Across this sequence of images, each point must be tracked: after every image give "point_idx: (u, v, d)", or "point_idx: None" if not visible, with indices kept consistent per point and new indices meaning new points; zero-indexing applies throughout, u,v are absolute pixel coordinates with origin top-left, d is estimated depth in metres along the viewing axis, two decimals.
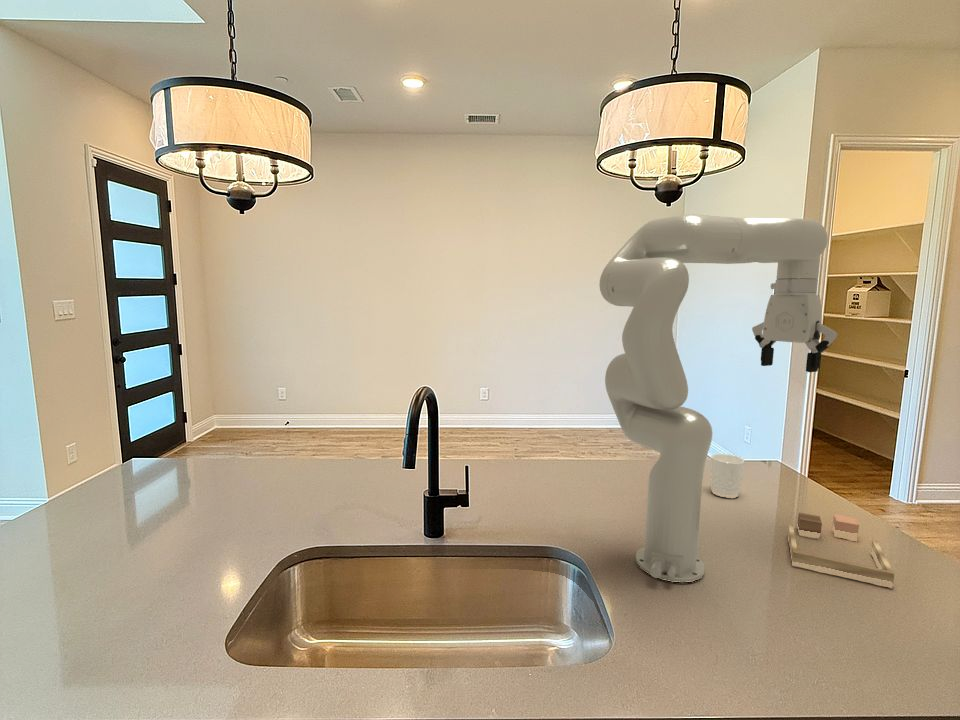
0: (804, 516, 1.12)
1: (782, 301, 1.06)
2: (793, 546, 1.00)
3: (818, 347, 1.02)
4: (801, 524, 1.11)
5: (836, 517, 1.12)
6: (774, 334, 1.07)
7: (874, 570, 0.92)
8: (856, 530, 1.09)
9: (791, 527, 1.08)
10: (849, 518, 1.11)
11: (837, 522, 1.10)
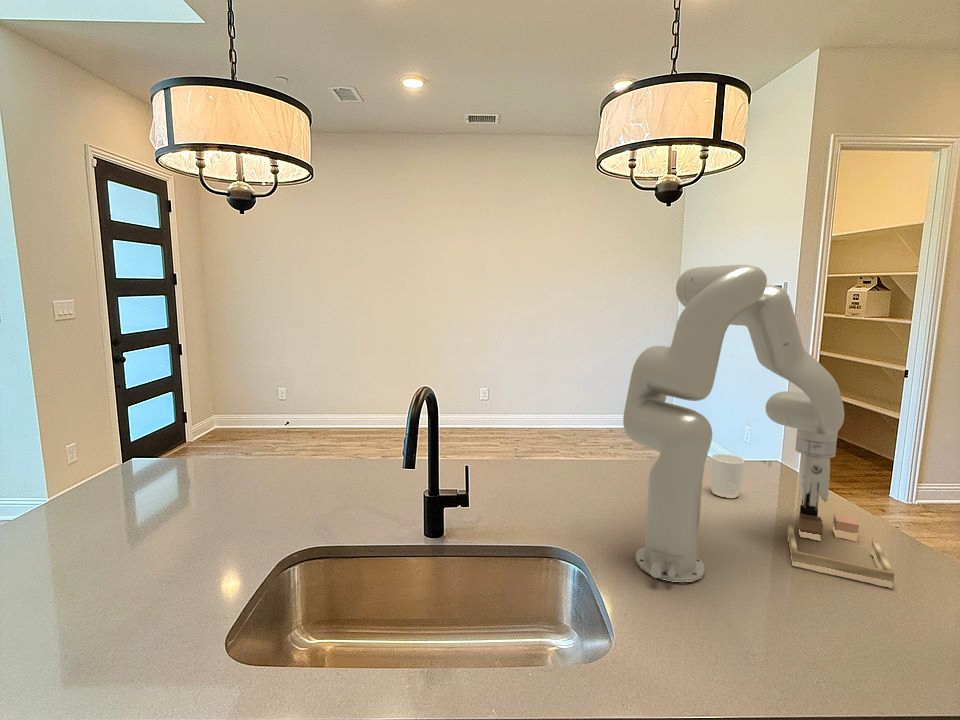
0: (805, 517, 1.11)
1: None
2: (793, 546, 1.00)
3: None
4: (802, 525, 1.10)
5: (836, 517, 1.12)
6: None
7: (874, 570, 0.92)
8: (856, 530, 1.09)
9: (791, 527, 1.08)
10: (849, 518, 1.11)
11: (837, 522, 1.10)
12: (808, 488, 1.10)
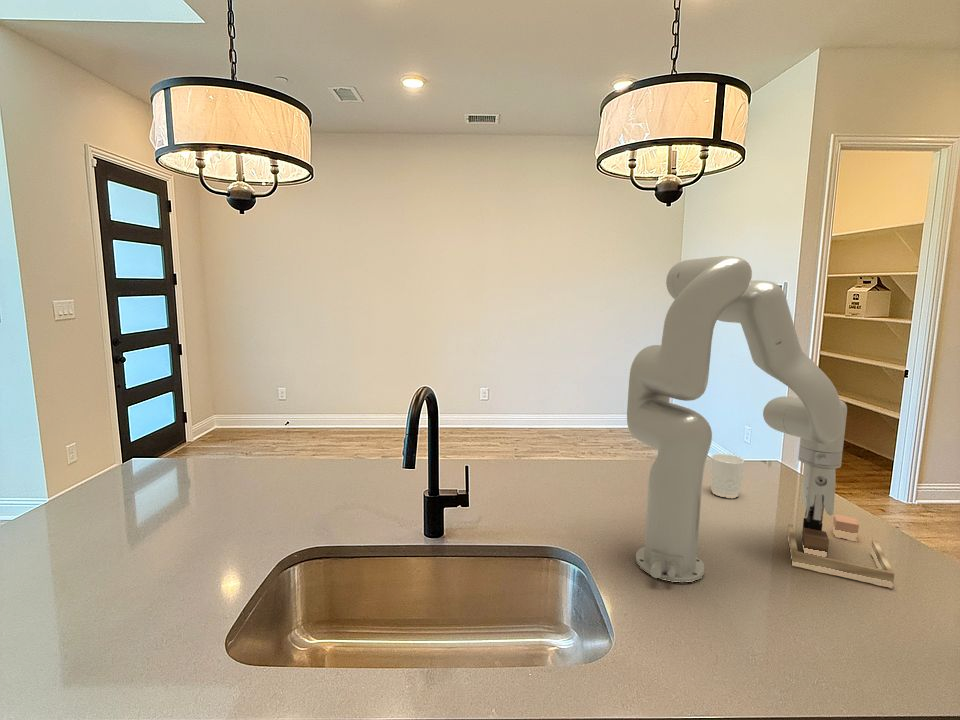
0: (810, 532, 1.04)
1: None
2: (793, 546, 1.00)
3: None
4: (806, 541, 1.03)
5: (836, 517, 1.12)
6: None
7: (874, 570, 0.92)
8: (856, 530, 1.09)
9: (791, 527, 1.08)
10: (849, 518, 1.11)
11: (837, 522, 1.10)
12: (812, 501, 1.03)
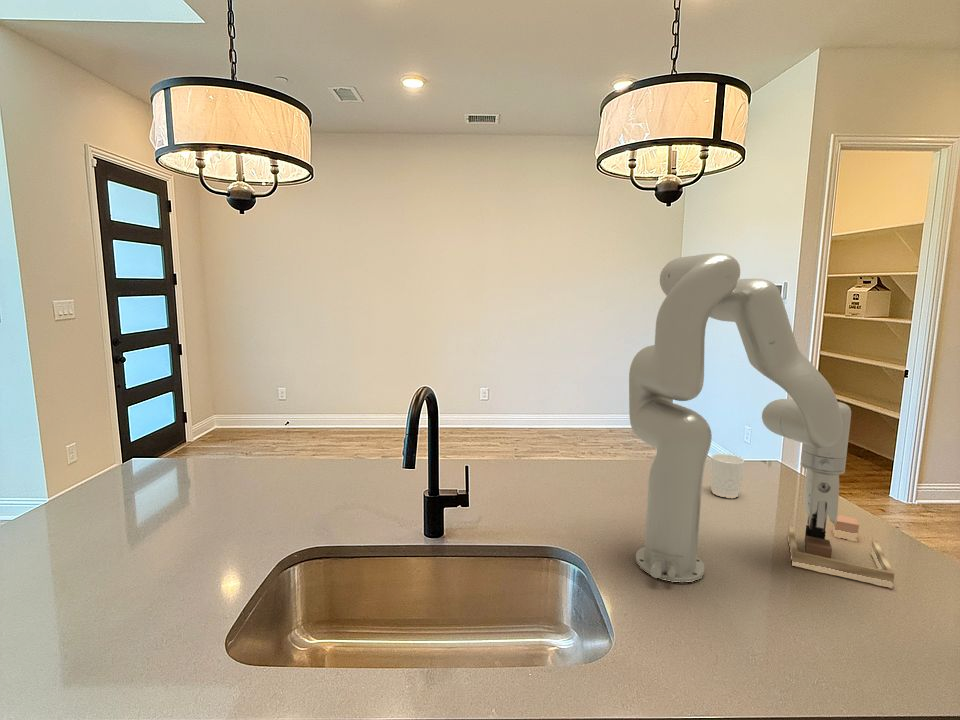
0: (812, 540, 1.01)
1: None
2: (793, 546, 1.00)
3: None
4: (809, 550, 0.99)
5: None
6: None
7: (874, 570, 0.92)
8: (856, 530, 1.09)
9: (791, 527, 1.08)
10: (849, 518, 1.11)
11: (837, 522, 1.10)
12: (815, 508, 0.99)
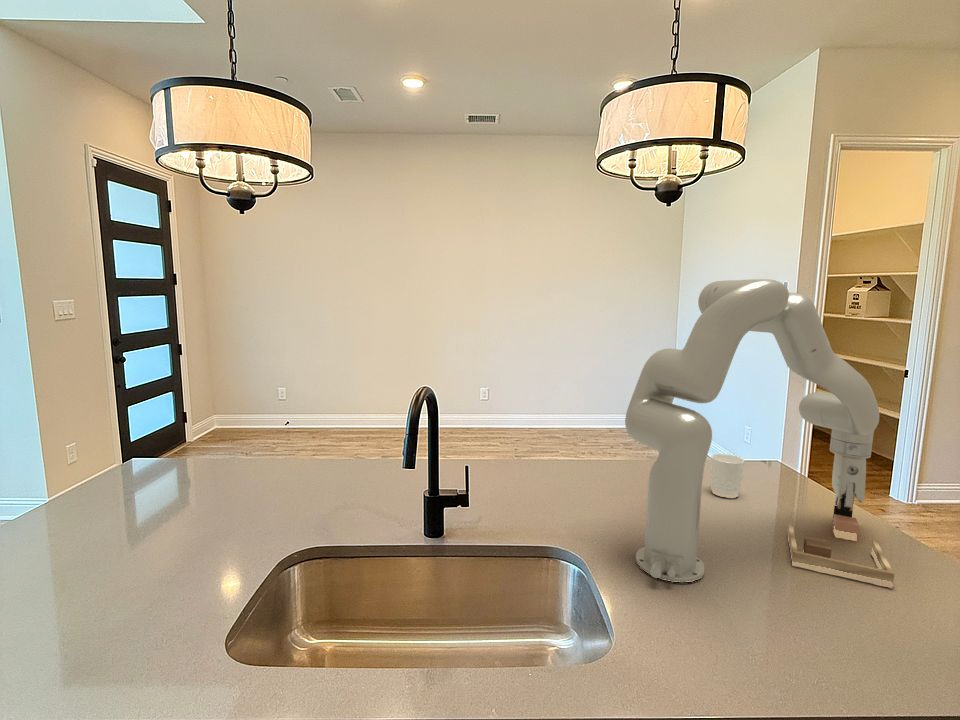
0: (811, 541, 1.01)
1: None
2: (793, 546, 1.00)
3: None
4: (808, 550, 0.99)
5: (836, 517, 1.12)
6: None
7: (874, 570, 0.92)
8: (856, 530, 1.08)
9: (791, 527, 1.08)
10: (849, 518, 1.11)
11: (837, 522, 1.10)
12: (844, 489, 1.10)
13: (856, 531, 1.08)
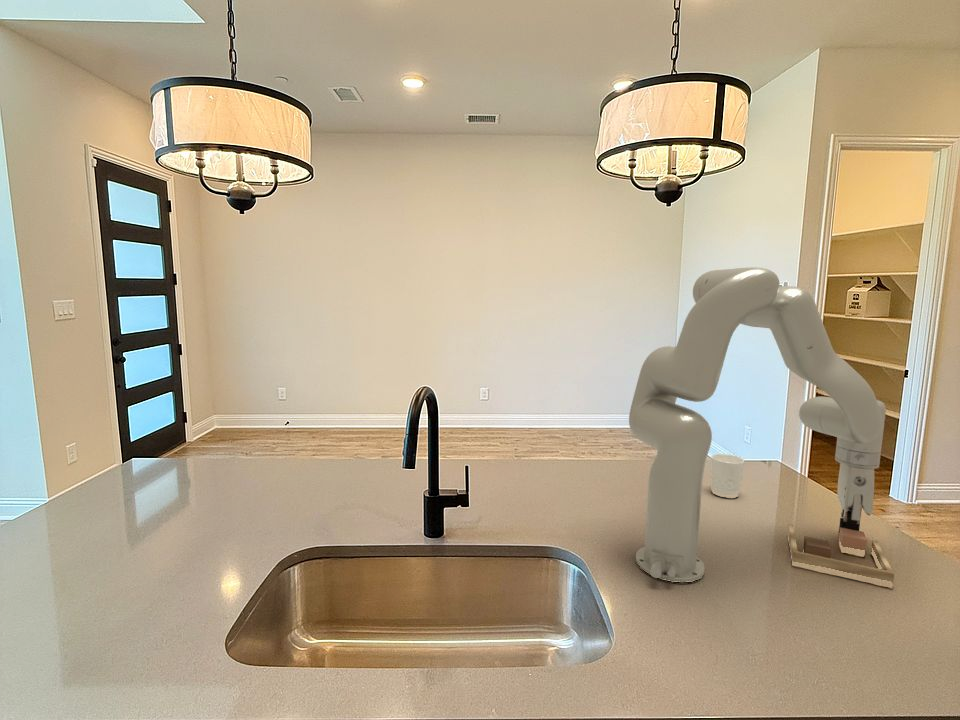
0: (811, 541, 1.01)
1: None
2: (793, 546, 1.00)
3: None
4: (808, 550, 0.99)
5: (843, 531, 1.05)
6: None
7: (874, 570, 0.92)
8: (864, 545, 1.02)
9: (791, 527, 1.08)
10: (857, 532, 1.05)
11: (844, 536, 1.03)
12: (851, 501, 1.03)
13: (864, 546, 1.02)
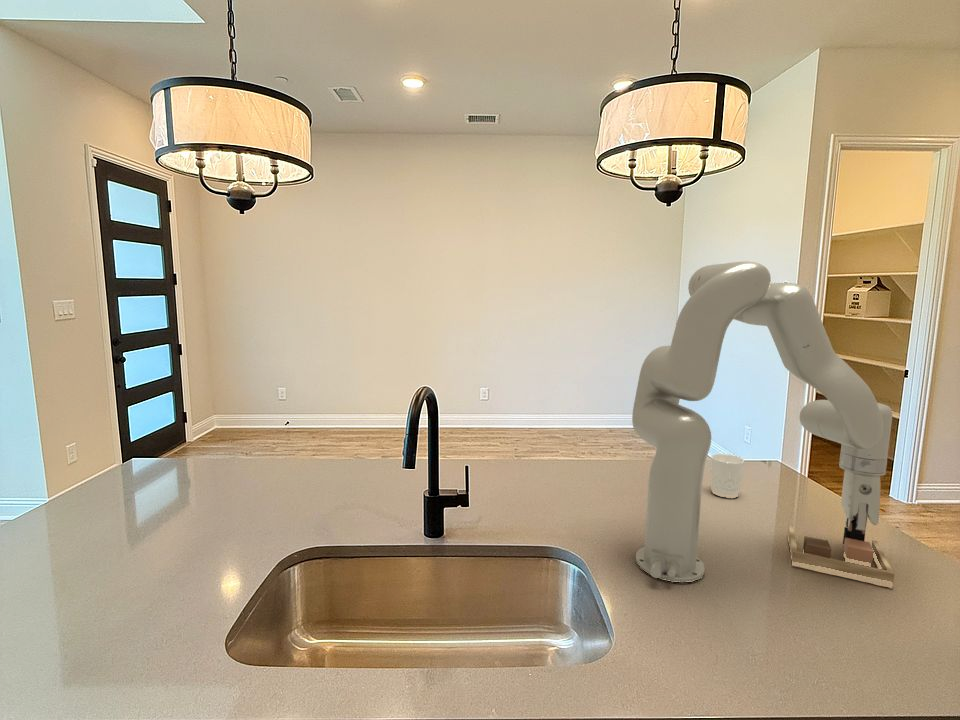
0: (811, 541, 1.01)
1: None
2: (793, 546, 1.00)
3: None
4: (808, 550, 0.99)
5: (848, 541, 1.00)
6: None
7: (874, 570, 0.92)
8: (870, 557, 0.97)
9: (791, 527, 1.08)
10: (862, 543, 1.00)
11: (849, 548, 0.98)
12: (856, 510, 0.98)
13: (870, 558, 0.97)
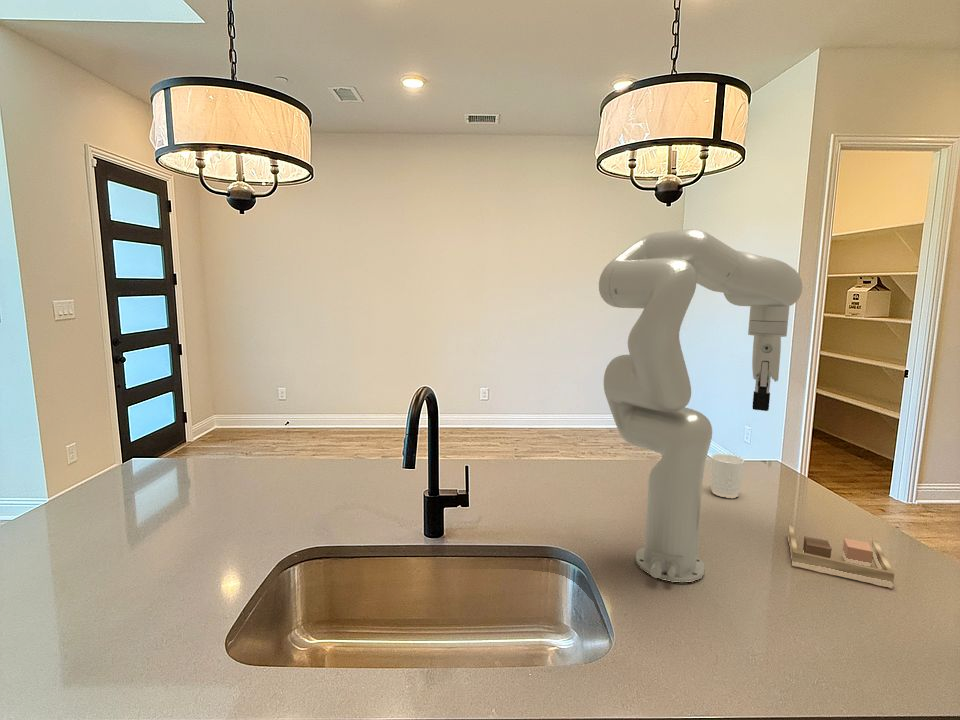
0: (811, 541, 1.01)
1: None
2: (793, 546, 1.00)
3: None
4: (808, 550, 0.99)
5: (847, 542, 1.00)
6: None
7: (874, 570, 0.92)
8: (869, 558, 0.97)
9: (791, 527, 1.08)
10: (861, 543, 1.00)
11: (849, 548, 0.99)
12: (759, 368, 1.09)
13: (870, 558, 0.97)
